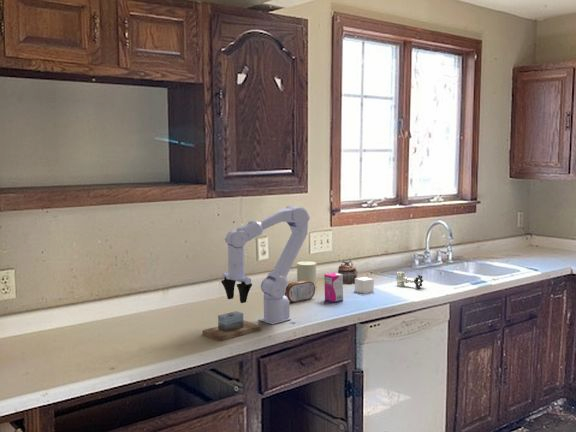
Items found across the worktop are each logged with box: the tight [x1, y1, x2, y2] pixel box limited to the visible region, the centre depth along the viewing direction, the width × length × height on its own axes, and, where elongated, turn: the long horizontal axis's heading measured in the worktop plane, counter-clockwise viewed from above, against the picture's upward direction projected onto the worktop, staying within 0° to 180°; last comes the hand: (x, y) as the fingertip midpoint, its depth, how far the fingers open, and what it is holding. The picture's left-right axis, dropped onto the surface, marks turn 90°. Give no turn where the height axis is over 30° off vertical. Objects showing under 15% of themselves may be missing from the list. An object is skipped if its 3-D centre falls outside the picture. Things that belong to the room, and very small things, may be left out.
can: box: [296, 260, 317, 289], centre depth 273 cm, size 9×9×12 cm
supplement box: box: [323, 272, 344, 304], centre depth 248 cm, size 6×6×12 cm
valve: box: [395, 271, 424, 290], centre depth 273 cm, size 7×7×12 cm
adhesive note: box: [354, 276, 375, 294], centre depth 264 cm, size 6×6×6 cm
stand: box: [202, 319, 262, 342], centre depth 205 cm, size 18×10×2 cm, turn 132°
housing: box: [217, 310, 244, 332], centre depth 205 cm, size 4×8×5 cm, turn 132°
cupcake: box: [337, 260, 359, 284], centre depth 285 cm, size 10×10×10 cm
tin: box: [284, 280, 316, 303], centre depth 249 cm, size 15×3×8 cm, turn 126°
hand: (236, 300), depth 212 cm, fingers open, 7 cm apart
